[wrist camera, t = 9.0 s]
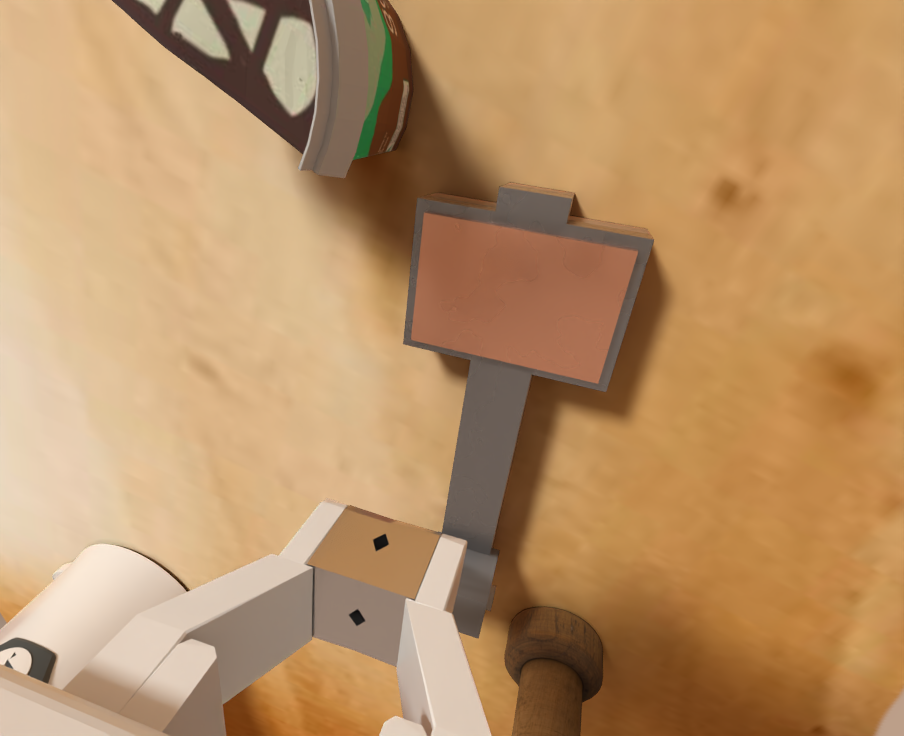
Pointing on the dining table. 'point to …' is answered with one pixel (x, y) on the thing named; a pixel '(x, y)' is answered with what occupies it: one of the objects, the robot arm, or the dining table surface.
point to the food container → (298, 68)
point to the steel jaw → (514, 321)
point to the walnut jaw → (481, 567)
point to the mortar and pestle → (552, 670)
